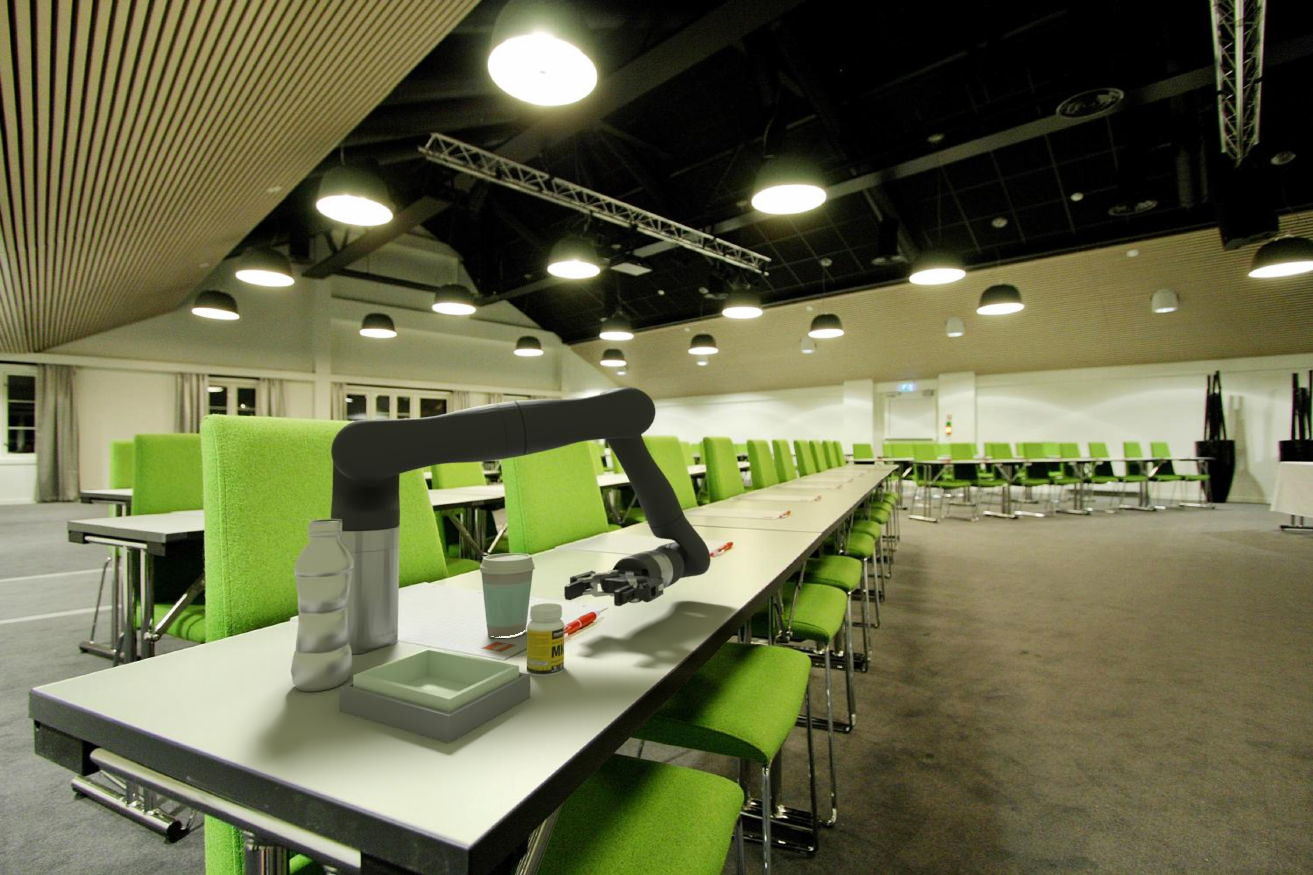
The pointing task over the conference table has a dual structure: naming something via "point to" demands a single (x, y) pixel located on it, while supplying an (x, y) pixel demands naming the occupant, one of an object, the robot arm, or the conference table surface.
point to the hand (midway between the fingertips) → (591, 595)
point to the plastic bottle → (323, 609)
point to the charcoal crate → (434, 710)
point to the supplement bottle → (545, 640)
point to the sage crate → (436, 678)
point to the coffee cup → (506, 592)
